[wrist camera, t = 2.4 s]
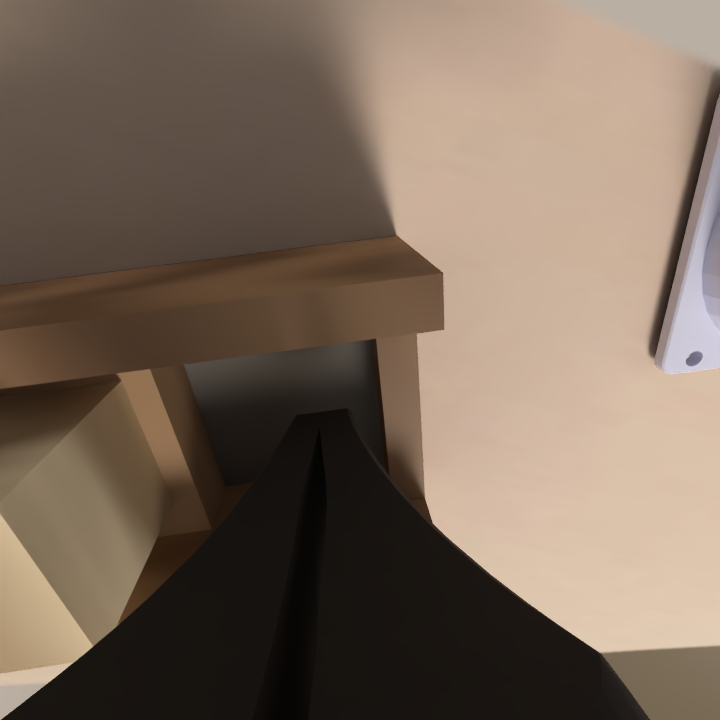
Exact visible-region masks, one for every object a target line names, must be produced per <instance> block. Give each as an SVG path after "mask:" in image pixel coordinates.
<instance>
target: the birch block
mask: <svg viewBox="0 0 720 720" xmlns="http://www.w3.org/2000/svg"><path fill="white" fill-rule="evenodd" d="M173 503H174V502H173V499H172V497H171V495H170V492H169V490H168V488H167V485H166V483H165V481H164V478H163V476H162V474H161V471H160V469H159V467H158V464H157V462H156V460H155V457H154V455H153V453H152V450H151V448H150V446H149V443H148V441H147V439H146V436H145V434H144V432H143V429H142V427H141V425H140V422H139V420H138V418H137V415H136V413H135V411H134V408H133V406H132V404H131V401H130V399H129V397H128V394H127V392H126V390H125V387H124V385H123V383H122V380H121V381H114V382H107V383H99V384H92V385H84V386H77V387H69V388H62V389H54V390H47V391H40V392H32V393H25V394H17V395H10V396H2V397H0V673H6V672H13V671H20V670H26V669H33V668H39V667H46V666H52V665H59V664H65V663H72V662H75V661H76V660H78V659H79V658H80V657H81V656H82V655H84V654H85V653H86V652H87V651H88V650H90V649H91V648H92V647H93V646H94V645H95V644H97V643H98V642H99V641H100V640H101V639H102V638H104V637H105V636H106V635H107V634H108V633H110V632H111V631H112V630H113V629H114V628H115V627H116V626H117V623H118V621H119V619H120V617H121V615H122V613H123V611H124V608H125V606H126V604H127V602H128V600H129V598H130V595H131V593H132V591H133V589H134V587H135V585H136V583H137V580H138V578H139V576H140V574H141V572H142V570H143V567H144V565H145V563H146V561H147V559H148V557H149V555H150V552H151V550H152V548H153V546H154V544H155V542H156V539H157V537H158V535H159V533H160V531H161V529H162V527H163V524H164V522H165V520H166V518H167V516H168V514H169V511H170V509H171V507H172V505H173Z"/></svg>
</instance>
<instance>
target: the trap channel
mask: <svg viewBox="0 0 720 720" xmlns="http://www.w3.org/2000/svg"><path fill="white" fill-rule="evenodd" d="M438 330H444V297H443V273H442V272H441V271H440V270H439V269H437V268H436V267H435V266H434V265H433V264H431V263H430V262H429V261H428V260H426V259H425V258H424V257H423V256H421V255H420V254H419V253H418V252H417V251H415V250H414V249H413V248H412V247H410V246H409V245H408V244H407V243H405V242H404V241H403V240H402V239H401V238H399V237H398V236H391V237H383V238H375V239H367V240H359V241H351V242H344V243H336V244H328V245H320V246H312V247H304V248H296V249H288V250H281V251H273V252H265V253H257V254H249V255H241V256H233V257H225V258H218V259H210V260H202V261H194V262H186V263H178V264H170V265H162V266H154V267H147V268H139V269H131V270H123V271H115V272H107V273H99V274H91V275H84V276H76V277H68V278H60V279H52V280H44V281H36V282H28V283H21V284H13V285H5V286H0V397H2V396H10V395H17V394H25V393H32V392H40V391H47V390H54V389H62V388H69V387H77V386H84V385H92V384H99V383H107V382H114V381H121V380H122V383H123V385H124V387H125V390H126V392H127V394H128V397H129V399H130V401H131V404H132V406H133V408H134V411H135V413H136V415H137V418H138V420H139V422H140V425H141V427H142V429H143V432H144V434H145V436H146V439H147V441H148V443H149V446H150V448H151V450H152V453H153V455H154V457H155V460H156V462H157V464H158V467H159V469H160V471H161V474H162V476H163V478H164V481H165V483H166V485H167V488H168V490H169V492H170V495H171V497H172V499H173V502H174V503H173V505H172V507H171V509H170V511H169V514H168V516H167V518H166V520H165V522H164V524H163V527H162V529H161V531H160V533H159V535H158V537H157V539H156V542H155V544H154V546H153V548H152V550H151V552H150V555H149V557H148V559H147V561H146V563H145V565H144V567H143V570H142V572H141V574H140V576H139V578H138V580H137V583H136V585H135V587H134V589H133V591H132V593H131V595H130V598H129V600H128V602H127V604H126V606H125V608H124V611H123V613H122V615H121V617H120V619H119V621H118V623H117V626H118V625H119V624H120V623H121V622H122V621H123V620H124V619H126V618H127V617H128V616H129V615H130V614H131V613H132V612H133V611H134V610H136V609H137V608H138V607H139V606H140V605H141V604H142V603H143V602H144V601H146V600H147V599H148V598H149V597H150V596H151V595H152V594H153V593H154V592H155V591H156V590H157V589H158V588H159V587H160V586H161V585H162V584H163V583H164V582H165V581H166V580H167V579H168V578H169V577H170V576H171V575H172V574H173V573H174V572H175V571H176V570H177V569H178V568H180V567H181V566H182V565H183V564H184V563H185V562H186V561H187V560H188V559H189V558H190V557H191V556H192V555H193V554H194V553H195V552H196V551H197V549H198V548H199V547H200V546H201V545H202V544H203V543H204V542H205V541H206V539H207V538H208V537H209V536H210V535H211V534H212V533H213V532H214V531H215V529H216V528H217V527H218V526H219V525H220V524H221V522H222V521H223V520H224V519H225V518H226V516H227V515H228V514H229V513H230V511H231V510H232V509H233V508H234V506H235V505H236V504H237V503H238V501H239V500H240V499H241V497H242V496H243V495H244V493H245V492H246V491H247V489H248V488H249V487H250V485H251V484H252V483H253V481H254V480H255V479H256V477H257V476H258V474H259V473H260V471H261V470H262V468H263V467H264V465H265V464H266V462H267V461H268V459H269V458H270V456H271V455H272V453H273V452H274V450H275V449H276V447H277V445H278V444H279V442H280V441H281V439H282V437H283V436H284V434H285V432H286V430H287V429H288V427H289V425H290V423H291V422H292V420H293V419H294V418H295V416H296V415H301V414H308V413H315V412H323V411H330V410H337V409H344V408H348V409H349V410H350V411H352V414H353V418H354V420H355V423H356V425H357V427H358V429H359V431H360V433H361V435H362V436H363V438H364V440H365V442H366V443H367V445H368V446H369V448H370V449H371V451H372V452H373V454H374V455H375V457H376V458H377V460H378V461H379V463H380V464H381V465H382V467H383V468H384V469H385V471H386V472H387V473H388V475H389V476H390V477H391V478H392V480H393V481H394V482H395V483H396V485H397V486H398V487H399V488H400V489H401V491H402V492H403V493H404V494H405V495H406V496H407V497H408V499H409V500H410V501H411V502H412V503H413V504H414V505H415V506H416V507H417V508H418V509H419V510H420V511H421V512H422V514H423V515H424V516H425V517H426V518H427V519H428V520H429V521H430V522H431V523H432V520H431V516H430V513H429V510H428V507H427V504H426V500H425V491H424V471H423V452H422V432H421V412H420V392H419V372H418V353H417V333H423V332H430V331H438ZM432 524H433V523H432ZM117 626H116V627H117Z"/></svg>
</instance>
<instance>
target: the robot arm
mask: <svg viewBox="0 0 720 720" xmlns="http://www.w3.org/2000/svg"><path fill="white" fill-rule="evenodd" d="M690 354H691V355H690ZM689 355H690V357H688V356H689ZM687 357H688V358H687ZM655 365H656V367H657V368H658V369H660V370H662V371H664V372H665V373H667V374H680V373H687V372H694V371H701V370H708V369H715V368H720V95H719V98H718V100H717V104H716V108H715V112H714V117H713V121H712V125H711V129H710V133H709V137H708V141H707V145H706V150H705V154H704V158H703V162H702V166H701V170H700V174H699V178H698V183H697V187H696V191H695V195H694V199H693V203H692V207H691V211H690V215H689V220H688V224H687V228H686V232H685V236H684V240H683V244H682V248H681V253H680V257H679V261H678V265H677V269H676V273H675V277H674V281H673V285H672V290H671V294H670V298H669V302H668V306H667V310H666V314H665V318H664V323H663V327H662V331H661V335H660V339H659V343H658V347H657V351H656V355H655ZM2 720H650V719H649V718H648V716H647V715H646V714H645V712H644V711H643V709H642V708H641V707H640V705H639V704H638V702H637V701H636V700H635V698H634V697H633V695H632V694H631V693H630V691H629V690H628V689H627V687H626V686H625V685H624V683H623V682H622V681H621V679H620V678H619V677H618V675H617V674H616V673H615V671H614V670H613V669H612V667H611V666H610V665H609V663H608V662H607V661H606V660H605V658H604V657H603V656H602V654H600V653H599V652H598V651H596V650H595V649H593V648H592V647H590V646H589V645H587V644H586V643H584V642H583V641H581V640H580V639H578V638H577V637H575V636H574V635H572V634H571V633H569V632H568V631H567V630H565V629H564V628H562V627H561V626H559V625H558V624H556V623H555V622H553V621H552V620H551V619H549V618H548V617H546V616H545V615H544V614H542V613H541V612H539V611H538V610H537V609H535V608H534V607H532V606H531V605H530V604H528V603H527V602H526V601H524V600H523V599H522V598H520V597H519V596H518V595H516V594H515V593H514V592H512V591H511V590H510V589H509V588H507V587H506V586H505V585H503V584H502V583H501V582H499V581H498V580H497V579H496V578H494V577H493V576H492V575H490V574H489V573H488V572H487V571H486V570H484V569H483V568H482V567H481V566H480V565H479V564H477V563H476V562H475V561H474V560H473V559H472V558H470V557H469V556H468V555H467V554H466V553H465V552H463V551H462V550H461V549H460V548H459V547H457V546H456V545H455V544H454V543H453V542H452V541H450V540H449V539H448V538H447V537H446V536H445V535H444V534H443V533H442V532H441V531H440V530H439V529H438V528H437V527H436V526H435V525H434V524H432V523H431V522H430V521H429V520H428V519H427V518H426V517H425V516H424V515H423V514H422V512H421V511H420V510H419V509H418V508H417V507H416V506H415V505H414V504H413V503H412V502H411V501H410V500H409V499H408V497H407V496H406V495H405V494H404V493H403V492H402V491H401V489H400V488H399V487H398V486H397V485H396V483H395V482H394V481H393V480H392V478H391V477H390V476H389V475H388V473H387V472H386V471H385V469H384V468H383V467H382V465H381V464H380V463H379V461H378V460H377V458H376V457H375V455H374V454H373V452H372V451H371V449H370V448H369V446H368V445H367V443H366V442H365V440H364V438H363V436H362V435H361V433H360V431H359V429H358V427H357V425H356V423H355V420H354V418H353V414H352V411H350V410H349V409H348V408H344V409H337V410H330V411H323V412H315V413H308V414H301V415H296V416H295V418H294V419H293V420H292V422H291V423H290V425H289V427H288V429H287V430H286V432H285V434H284V436H283V437H282V439H281V441H280V442H279V444H278V445H277V447H276V449H275V450H274V452H273V453H272V455H271V456H270V458H269V459H268V461H267V462H266V464H265V465H264V467H263V468H262V470H261V471H260V473H259V474H258V476H257V477H256V479H255V480H254V481H253V483H252V484H251V485H250V487H249V488H248V489H247V491H246V492H245V493H244V495H243V496H242V497H241V499H240V500H239V501H238V503H237V504H236V505H235V506H234V508H233V509H232V510H231V511H230V513H229V514H228V515H227V516H226V518H225V519H224V520H223V521H222V522H221V524H220V525H219V526H218V527H217V528H216V529H215V531H214V532H213V533H212V534H211V535H210V536H209V537H208V538H207V539H206V541H205V542H204V543H203V544H202V545H201V546H200V547H199V548H198V549H197V551H196V552H195V553H194V554H193V555H192V556H191V557H190V558H189V559H188V560H187V561H186V562H185V563H184V564H183V565H182V566H181V567H180V568H178V569H177V570H176V571H175V572H174V573H173V574H172V575H171V576H170V577H169V578H168V579H167V580H166V581H165V582H164V583H163V584H162V585H161V586H160V587H159V588H158V589H157V590H156V591H155V592H154V593H153V594H152V595H151V596H150V597H149V598H148V599H147V600H146V601H144V602H143V603H142V604H141V605H140V606H139V607H138V608H137V609H136V610H134V611H133V612H132V613H131V614H130V615H129V616H128V617H127V618H126V619H124V620H123V621H122V622H121V623H120V624H119V625H118V626H117V627H115V628H114V629H113V630H112V631H111V632H110V633H108V634H107V635H106V636H105V637H104V638H102V639H101V640H100V641H99V642H98V643H97V644H95V645H94V646H93V647H92V648H91V649H90V650H88V651H87V652H86V653H85V654H84V655H82V656H81V657H80V658H79V659H78V660H76V661H75V662H74V663H73V664H71V665H70V666H69V667H68V668H67V669H65V670H64V671H63V672H62V673H60V674H59V675H58V676H57V677H55V678H54V679H53V680H52V681H50V682H49V683H48V684H46V685H45V686H44V687H43V688H41V689H40V690H39V691H37V692H36V693H35V694H34V695H32V696H31V697H30V698H28V699H27V700H26V701H25V702H23V703H22V704H21V705H20V706H18V707H17V708H16V709H15V710H13V711H12V712H10V713H9V714H8V715H7V716H5V717H4V718H3V719H2Z"/></svg>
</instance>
